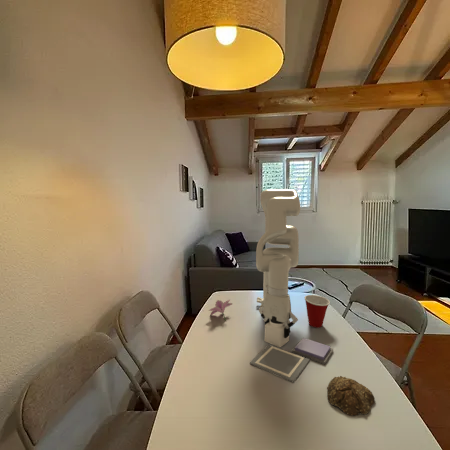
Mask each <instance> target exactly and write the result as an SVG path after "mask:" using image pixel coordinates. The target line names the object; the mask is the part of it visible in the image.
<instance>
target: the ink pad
mask: <svg viewBox="0 0 450 450" xmlns="http://www.w3.org/2000/svg"><path fill="white" fill-rule="evenodd" d="M333 352H334V348H332V347H331V346H330V345H326V344H323V343H322V342H318V341H315V340H313V339H308V338H305V337H303V338H301V339H300V340H299V342H298V343H297V344H296V345H295V346H294V347H293V348H292V349H291V353H294V354H297V355H299V356H303V357H306V358H308V359H310V360H311V361H314V362H316V361H317V363H319V364H323V365H326V363H327V362H328V360H329V359H330V357H331V355H332V354H333Z"/></svg>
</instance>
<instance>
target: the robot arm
mask: <svg viewBox="0 0 450 450" xmlns="http://www.w3.org/2000/svg"><path fill="white" fill-rule="evenodd" d="M260 203H261V209H263V213H264V218H265V226H264V227H265V228H264V231H265V232H264V233H263V234H262V235H261V237H260V238H259V240H258V242H257V244H256V249H255V250H256V251H255V256H256V258H255V264H256V269H257V271H259V272H261V273H263V285H262V286H263V287H262V288H263V291H262V293H263V296H262V297H259V296H258V297H257V298H256V302H257V303H258V304H260V305H259V308H258V312H259V314H260V316H261V317H262V320H263V322H264V325H265V324H267V323H269V322H270V319H272V316H275V317H277V321H279V322H282V323H284V325H285V328H284V338H287V337H288V336H289V337H290V335H291V327H293V326H294V325H295V324H296V323H297V322H298V321H299V318H298V317H297V316H296V315H295V314H294V312H292V303H291V297H290V294H289V273H290V272H289V271H290V270H291V268H296V267H298V264H299V259H300V257H299V255H300V254H299V253H300V252H299V250H300V248H299V231H298V229H297V227H296V226H293V225H287V224H288V223H287V217H298V216H299V214H300V213H301V201H300V197H299V195H298V192H297V190H296V189H291V188H289V189H288V188H284V189H283V188H282V189H281V188H279V189H278V188H274V189H273V188H270V189H269V188H268V189H264V190H263V191H261V193H260ZM266 244H269V245H273V246H274V245H276V246H278V247H275V246H274V247H273V246H272V247H266V248H264V246H265V245H266ZM280 245H281V246H288V247H279V246H280ZM290 319H291V320H292V321H291V320H290Z"/></svg>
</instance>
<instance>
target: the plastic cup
mask: <svg viewBox="0 0 450 450" xmlns="http://www.w3.org/2000/svg"><path fill="white" fill-rule="evenodd" d="M304 300H305V307H306V313H307V321H308V324H309V326H311V327H313V328H318V329H319V328H321V327H323V324H324V320H325V318H326V315H327V314H326V312H327V309H328V306H329V305H330V303H331V302H330V300H329V299H327V297H324V296H320V295H316V294H308V295H305V296H304Z"/></svg>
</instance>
